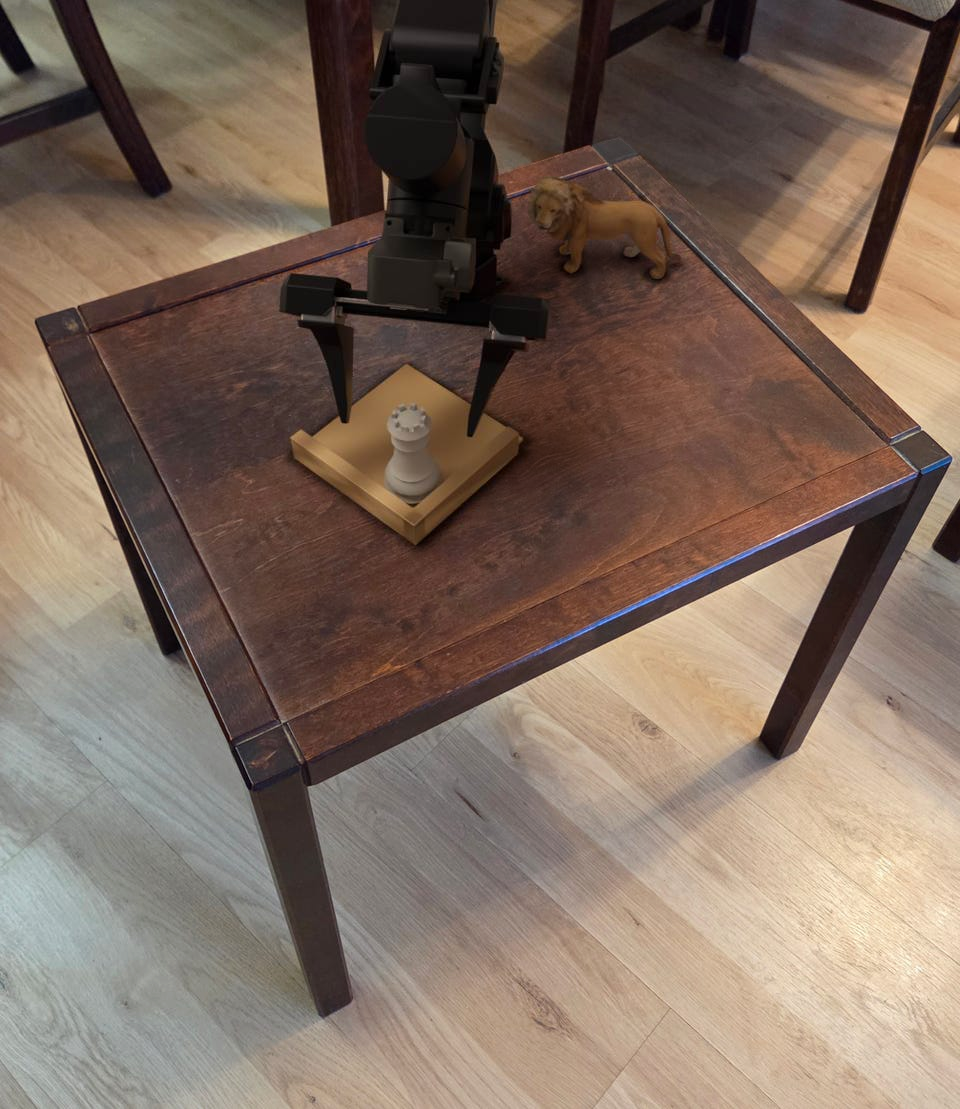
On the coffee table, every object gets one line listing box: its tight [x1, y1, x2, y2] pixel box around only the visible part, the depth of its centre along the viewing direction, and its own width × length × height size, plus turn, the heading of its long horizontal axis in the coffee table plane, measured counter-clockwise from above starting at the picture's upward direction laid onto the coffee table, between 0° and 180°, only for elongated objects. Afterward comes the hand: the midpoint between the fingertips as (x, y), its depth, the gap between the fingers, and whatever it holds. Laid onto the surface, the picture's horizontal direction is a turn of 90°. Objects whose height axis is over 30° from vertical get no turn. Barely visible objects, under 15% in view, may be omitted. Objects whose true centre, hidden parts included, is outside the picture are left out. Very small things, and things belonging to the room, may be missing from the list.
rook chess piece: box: [384, 402, 441, 504], centre depth 80 cm, size 4×4×8 cm
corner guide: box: [290, 363, 524, 546], centre depth 84 cm, size 14×14×2 cm
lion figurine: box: [527, 177, 682, 280], centre depth 96 cm, size 15×5×9 cm, turn 92°
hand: (407, 430), depth 77 cm, fingers open, 9 cm apart
